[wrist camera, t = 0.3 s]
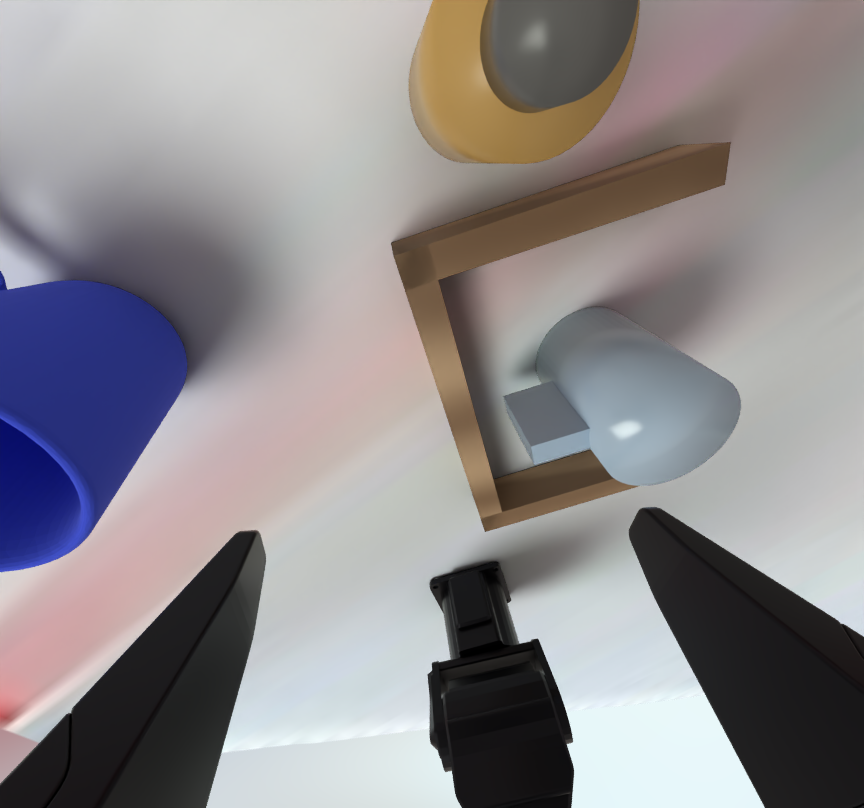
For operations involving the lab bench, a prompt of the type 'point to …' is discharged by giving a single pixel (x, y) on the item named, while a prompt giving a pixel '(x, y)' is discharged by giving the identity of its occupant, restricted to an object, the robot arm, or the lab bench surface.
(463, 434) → the cradle
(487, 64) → the reagent bottle
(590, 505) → the lab bench surface
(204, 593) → the robot arm
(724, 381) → the pale blue canister
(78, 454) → the mug
